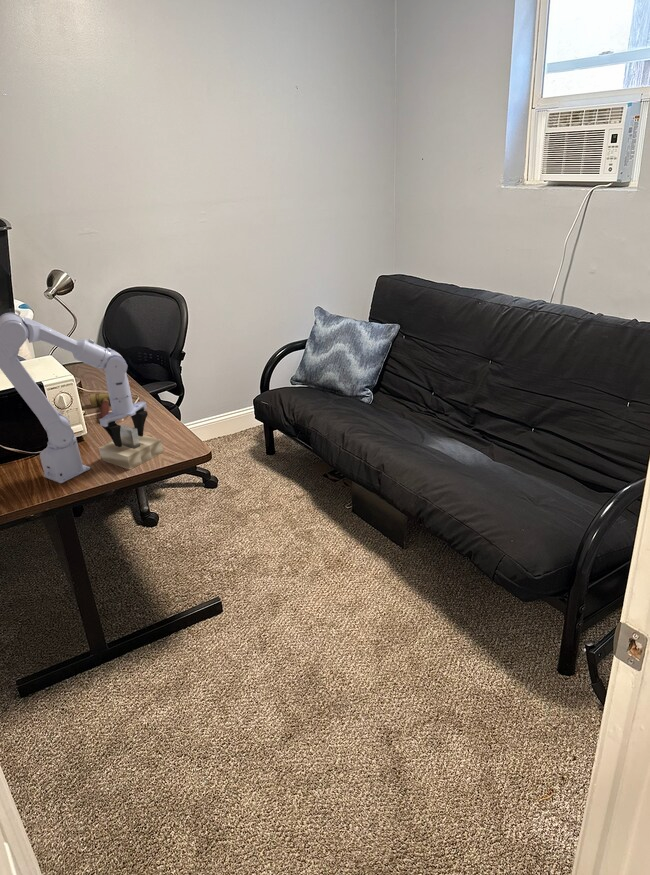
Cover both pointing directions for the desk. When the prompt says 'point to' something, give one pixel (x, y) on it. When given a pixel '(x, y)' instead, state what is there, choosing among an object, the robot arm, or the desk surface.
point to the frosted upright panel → (129, 436)
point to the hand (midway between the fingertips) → (129, 440)
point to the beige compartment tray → (131, 452)
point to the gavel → (101, 403)
